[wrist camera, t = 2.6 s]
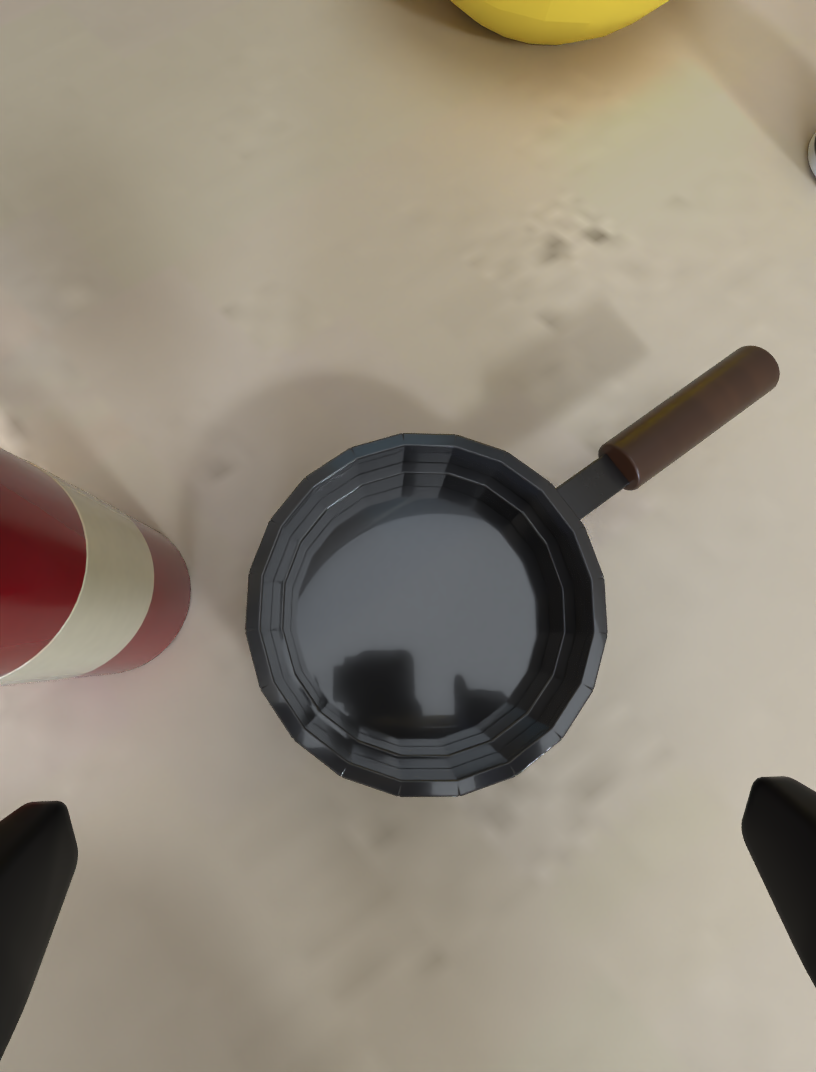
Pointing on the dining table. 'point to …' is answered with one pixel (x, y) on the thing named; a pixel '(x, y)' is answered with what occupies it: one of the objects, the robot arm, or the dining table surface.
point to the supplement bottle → (812, 153)
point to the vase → (556, 18)
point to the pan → (426, 615)
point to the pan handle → (672, 428)
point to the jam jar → (80, 582)
